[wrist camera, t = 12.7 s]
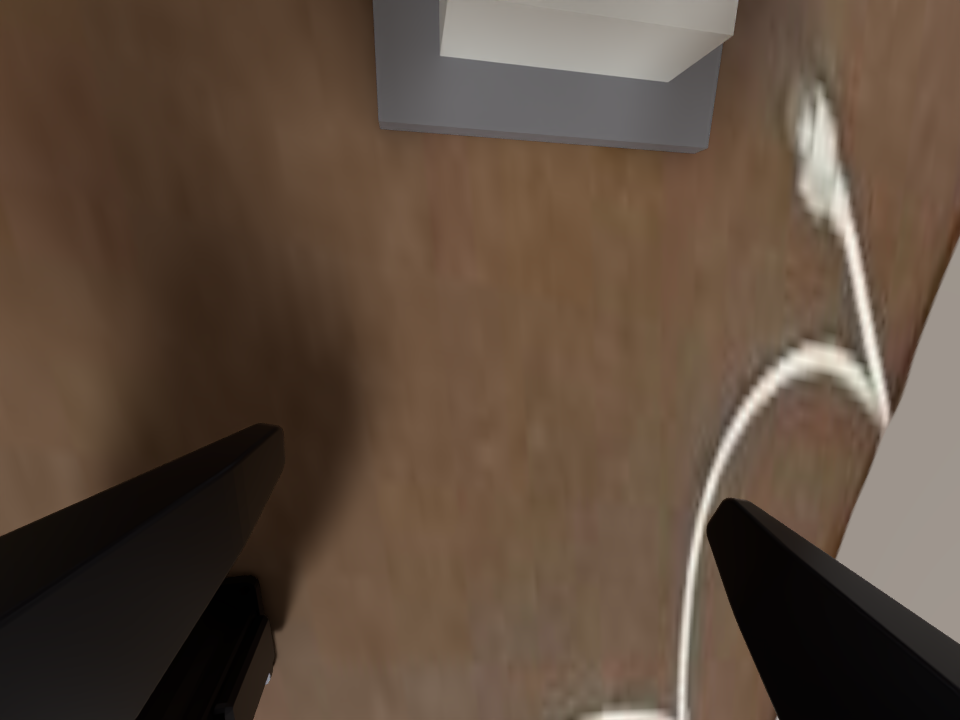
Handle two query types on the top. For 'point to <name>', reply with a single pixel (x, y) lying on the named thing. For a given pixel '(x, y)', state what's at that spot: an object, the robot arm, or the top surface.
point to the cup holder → (553, 69)
